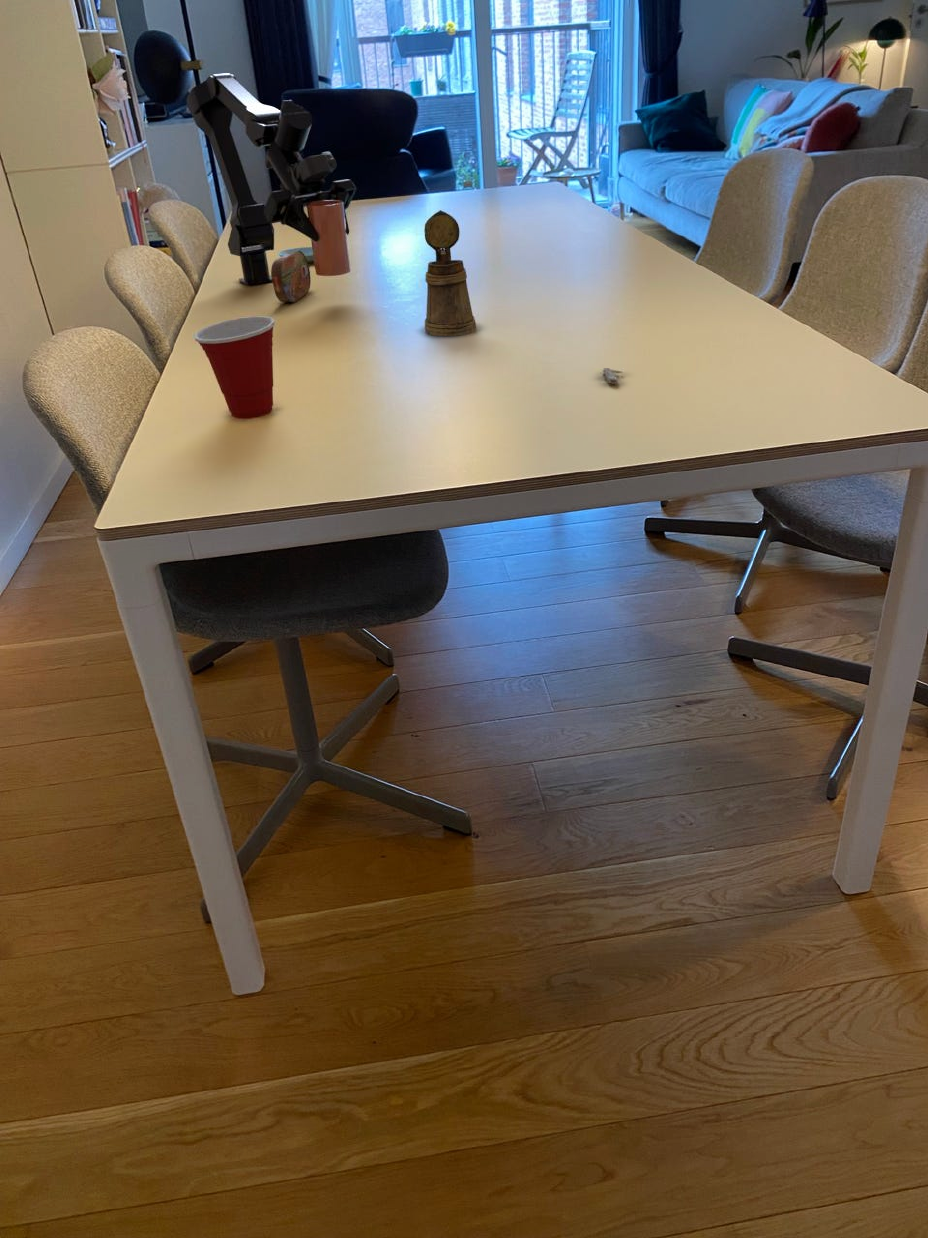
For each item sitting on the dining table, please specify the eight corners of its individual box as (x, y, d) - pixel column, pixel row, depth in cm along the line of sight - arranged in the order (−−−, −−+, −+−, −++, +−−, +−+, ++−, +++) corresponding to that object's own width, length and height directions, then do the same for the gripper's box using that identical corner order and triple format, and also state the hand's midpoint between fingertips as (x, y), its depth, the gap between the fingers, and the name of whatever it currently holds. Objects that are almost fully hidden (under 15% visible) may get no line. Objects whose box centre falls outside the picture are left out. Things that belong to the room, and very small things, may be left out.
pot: (319, 268, 181) (310, 200, 174) (352, 267, 180) (345, 199, 174) (313, 276, 175) (303, 206, 168) (348, 275, 175) (340, 204, 168)
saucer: (323, 254, 226) (322, 244, 225) (332, 262, 216) (331, 251, 215) (276, 259, 223) (274, 250, 222) (283, 268, 214) (281, 257, 212)
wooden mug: (472, 315, 165) (466, 207, 155) (478, 334, 154) (472, 219, 144) (423, 318, 165) (414, 211, 155) (425, 338, 153) (416, 224, 144)
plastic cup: (217, 402, 131) (199, 317, 124) (292, 396, 131) (278, 311, 125) (205, 429, 121) (185, 338, 115) (286, 422, 122) (270, 331, 116)
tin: (288, 306, 180) (281, 261, 175) (273, 306, 180) (266, 262, 176) (313, 289, 192) (307, 246, 188) (299, 289, 193) (293, 247, 188)
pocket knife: (629, 380, 126) (608, 378, 126) (628, 386, 127) (607, 384, 126) (621, 368, 131) (601, 366, 131) (620, 373, 132) (600, 372, 131)
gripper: (261, 142, 162) (305, 214, 161) (344, 132, 173) (386, 199, 172) (246, 188, 172) (287, 256, 171) (326, 175, 182) (365, 239, 181)
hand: (332, 236), depth 173 cm, fingers closed on pot, 7 cm apart
